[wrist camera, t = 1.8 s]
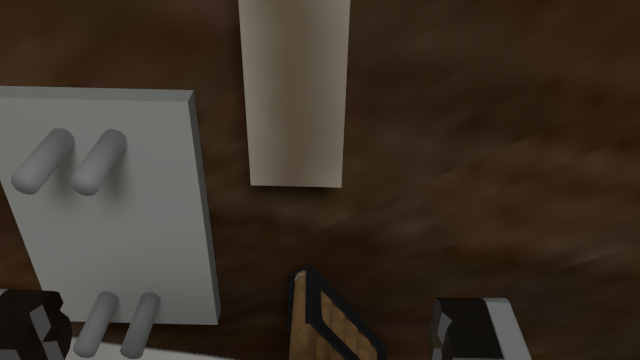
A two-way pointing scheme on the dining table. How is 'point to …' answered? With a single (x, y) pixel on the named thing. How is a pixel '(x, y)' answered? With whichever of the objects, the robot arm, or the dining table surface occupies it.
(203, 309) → the peg stand
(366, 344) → the ammunition clip
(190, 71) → the dining table surface
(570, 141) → the dining table surface
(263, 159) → the tan bar
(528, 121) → the dining table surface
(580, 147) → the dining table surface
